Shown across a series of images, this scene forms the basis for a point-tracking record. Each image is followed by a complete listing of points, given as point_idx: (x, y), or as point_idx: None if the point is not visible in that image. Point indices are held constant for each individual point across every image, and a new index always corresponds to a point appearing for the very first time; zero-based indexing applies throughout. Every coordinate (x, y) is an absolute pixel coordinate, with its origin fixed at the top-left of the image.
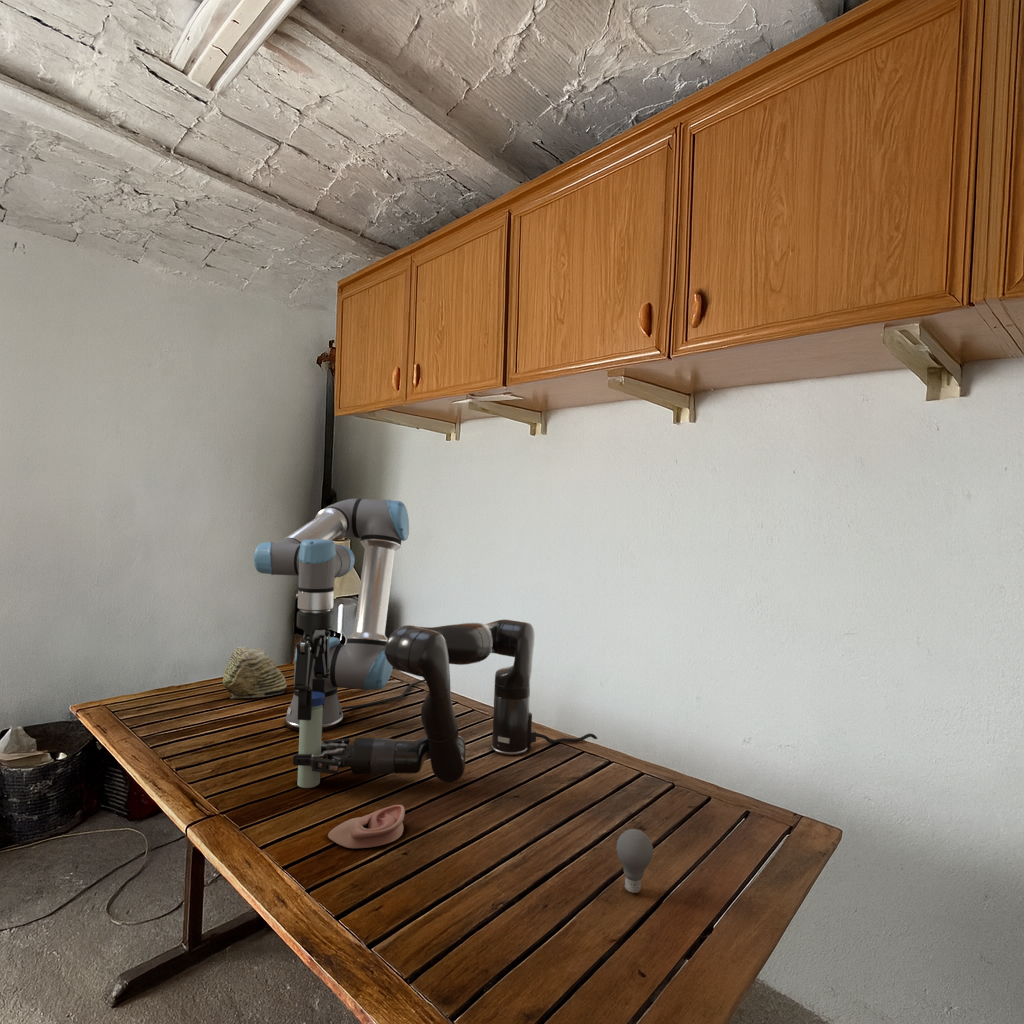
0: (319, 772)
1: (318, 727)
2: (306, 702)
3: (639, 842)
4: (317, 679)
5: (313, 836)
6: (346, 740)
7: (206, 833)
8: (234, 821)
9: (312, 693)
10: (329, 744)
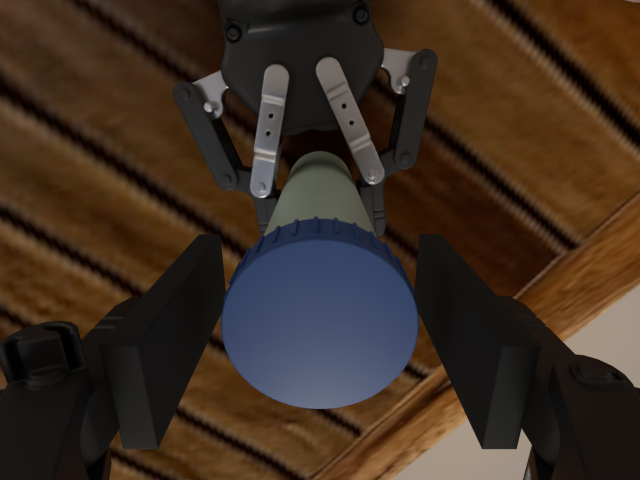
0: (321, 155)
1: (344, 196)
2: (511, 308)
3: None
4: (147, 408)
5: (631, 49)
6: (196, 94)
7: (585, 306)
8: (535, 275)
9: (277, 342)
10: (278, 145)
